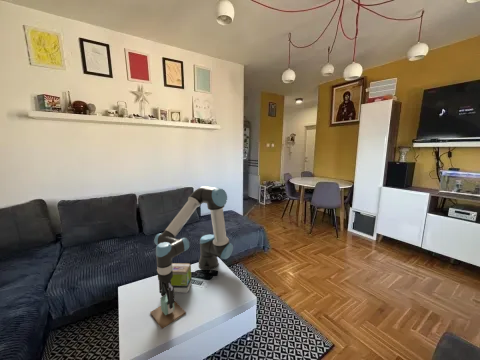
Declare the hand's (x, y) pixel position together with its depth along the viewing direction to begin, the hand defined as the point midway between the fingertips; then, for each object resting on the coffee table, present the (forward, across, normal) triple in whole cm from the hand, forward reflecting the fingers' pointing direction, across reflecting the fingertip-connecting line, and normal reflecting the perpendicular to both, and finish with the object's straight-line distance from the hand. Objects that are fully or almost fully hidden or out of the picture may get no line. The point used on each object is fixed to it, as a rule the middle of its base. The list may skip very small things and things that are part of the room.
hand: (167, 308), depth 116 cm
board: (+3, 0, 0) cm, 3 cm away
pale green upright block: (0, 0, 0) cm, 0 cm away
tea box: (+3, -15, +15) cm, 22 cm away
